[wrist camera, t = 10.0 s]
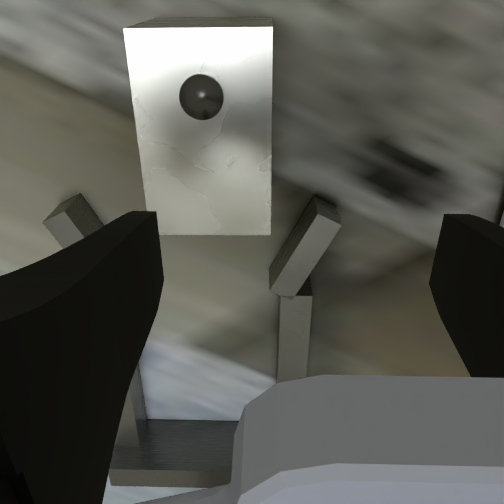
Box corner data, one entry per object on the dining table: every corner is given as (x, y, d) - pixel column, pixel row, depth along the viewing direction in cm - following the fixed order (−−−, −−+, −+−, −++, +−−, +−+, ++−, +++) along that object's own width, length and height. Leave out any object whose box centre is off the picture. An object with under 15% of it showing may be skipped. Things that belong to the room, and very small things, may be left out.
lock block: (270, 16, 18) (273, 27, 14) (269, 185, 22) (270, 237, 17) (156, 17, 19) (121, 28, 14) (173, 185, 22) (149, 237, 18)
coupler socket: (337, 195, 22) (348, 230, 19) (313, 439, 30) (319, 490, 27) (57, 193, 22) (24, 226, 19) (110, 435, 31) (93, 485, 27)
